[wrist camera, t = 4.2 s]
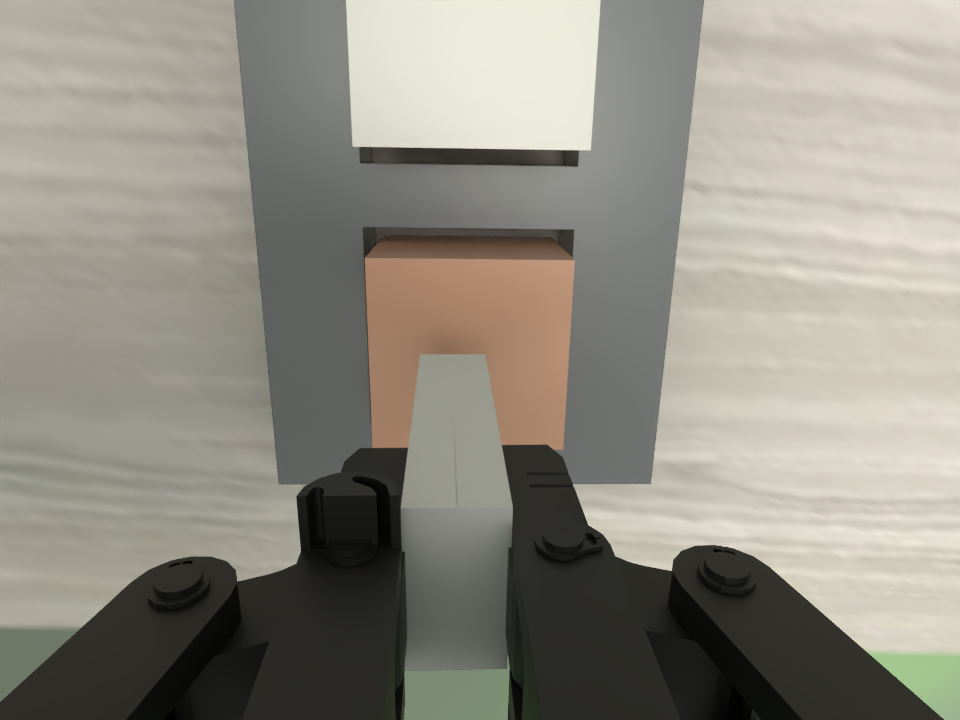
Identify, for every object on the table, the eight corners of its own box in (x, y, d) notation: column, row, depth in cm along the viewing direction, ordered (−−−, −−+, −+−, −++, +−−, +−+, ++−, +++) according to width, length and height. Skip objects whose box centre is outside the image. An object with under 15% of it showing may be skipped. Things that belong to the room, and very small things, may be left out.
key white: (376, 147, 21) (352, 146, 16) (369, -68, 19) (339, -140, 14) (561, 150, 21) (590, 150, 16) (572, -62, 19) (608, -132, 14)
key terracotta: (389, 392, 25) (372, 449, 20) (384, 235, 23) (364, 258, 18) (543, 392, 25) (563, 449, 20) (551, 237, 23) (575, 260, 18)
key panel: (298, 448, 27) (278, 484, 24) (217, -554, 17) (169, -690, 15) (630, 449, 27) (650, 483, 24) (725, -527, 18) (776, -655, 15)
